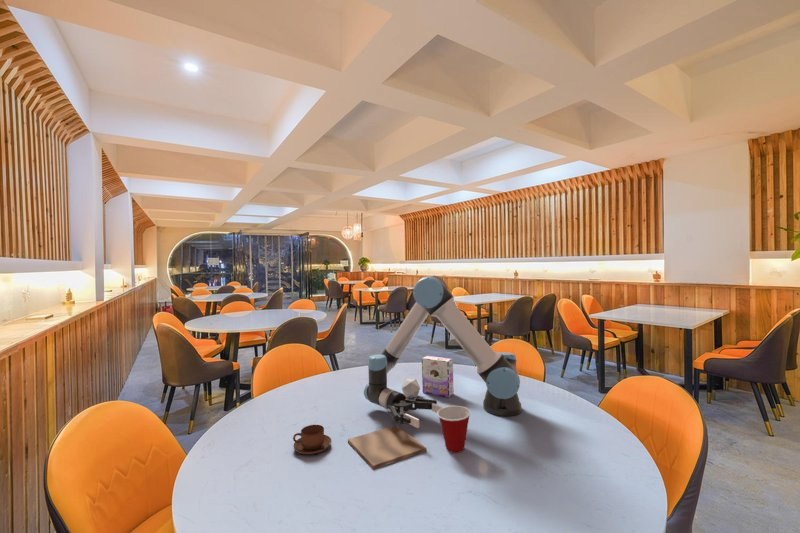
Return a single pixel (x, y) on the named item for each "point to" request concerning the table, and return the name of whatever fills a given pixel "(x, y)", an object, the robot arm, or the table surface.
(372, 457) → the walnut board
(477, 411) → the table surface
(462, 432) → the plastic cup
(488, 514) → the table surface
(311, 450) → the cup and saucer
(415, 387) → the die
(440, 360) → the candy box
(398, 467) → the table surface
